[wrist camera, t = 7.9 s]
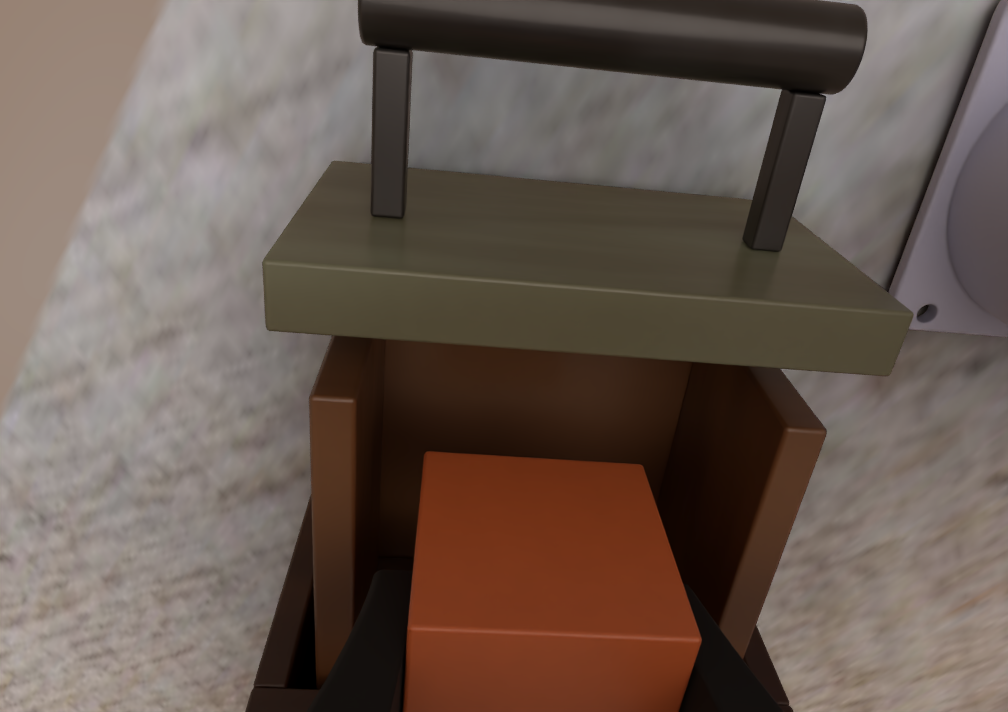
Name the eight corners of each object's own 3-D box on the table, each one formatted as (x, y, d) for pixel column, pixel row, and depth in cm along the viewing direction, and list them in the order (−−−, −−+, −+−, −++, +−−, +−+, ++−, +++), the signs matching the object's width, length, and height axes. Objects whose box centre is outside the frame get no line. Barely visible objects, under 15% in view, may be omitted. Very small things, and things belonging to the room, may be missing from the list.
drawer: (329, -57, 14) (242, -68, 9) (831, 1, 15) (1033, 24, 10) (334, 548, 22) (287, 747, 16) (672, 565, 22) (737, 759, 17)
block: (643, 462, 13) (704, 640, 10) (607, 617, 15) (647, 814, 12) (424, 449, 13) (407, 627, 10) (414, 609, 15) (396, 809, 11)
